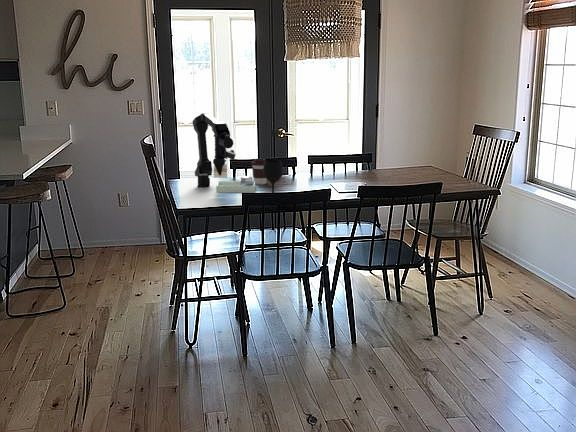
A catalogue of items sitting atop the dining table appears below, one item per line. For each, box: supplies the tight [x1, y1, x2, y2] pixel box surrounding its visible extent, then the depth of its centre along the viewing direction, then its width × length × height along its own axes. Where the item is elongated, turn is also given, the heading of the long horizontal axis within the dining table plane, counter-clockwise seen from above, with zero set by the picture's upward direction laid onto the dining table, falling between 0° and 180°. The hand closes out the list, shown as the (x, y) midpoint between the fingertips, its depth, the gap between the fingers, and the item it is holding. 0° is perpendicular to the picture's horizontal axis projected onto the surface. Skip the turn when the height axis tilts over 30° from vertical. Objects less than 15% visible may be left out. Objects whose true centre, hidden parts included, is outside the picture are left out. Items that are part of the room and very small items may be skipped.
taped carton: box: [213, 163, 228, 179], centre depth 341 cm, size 7×5×7 cm
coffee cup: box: [250, 158, 267, 185], centre depth 368 cm, size 10×10×15 cm
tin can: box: [240, 175, 254, 186], centre depth 350 cm, size 7×7×7 cm
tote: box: [215, 180, 256, 193], centre depth 350 cm, size 21×15×4 cm
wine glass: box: [263, 159, 284, 194], centre depth 329 cm, size 10×10×20 cm
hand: (220, 174), depth 342 cm, fingers closed on taped carton, 5 cm apart
